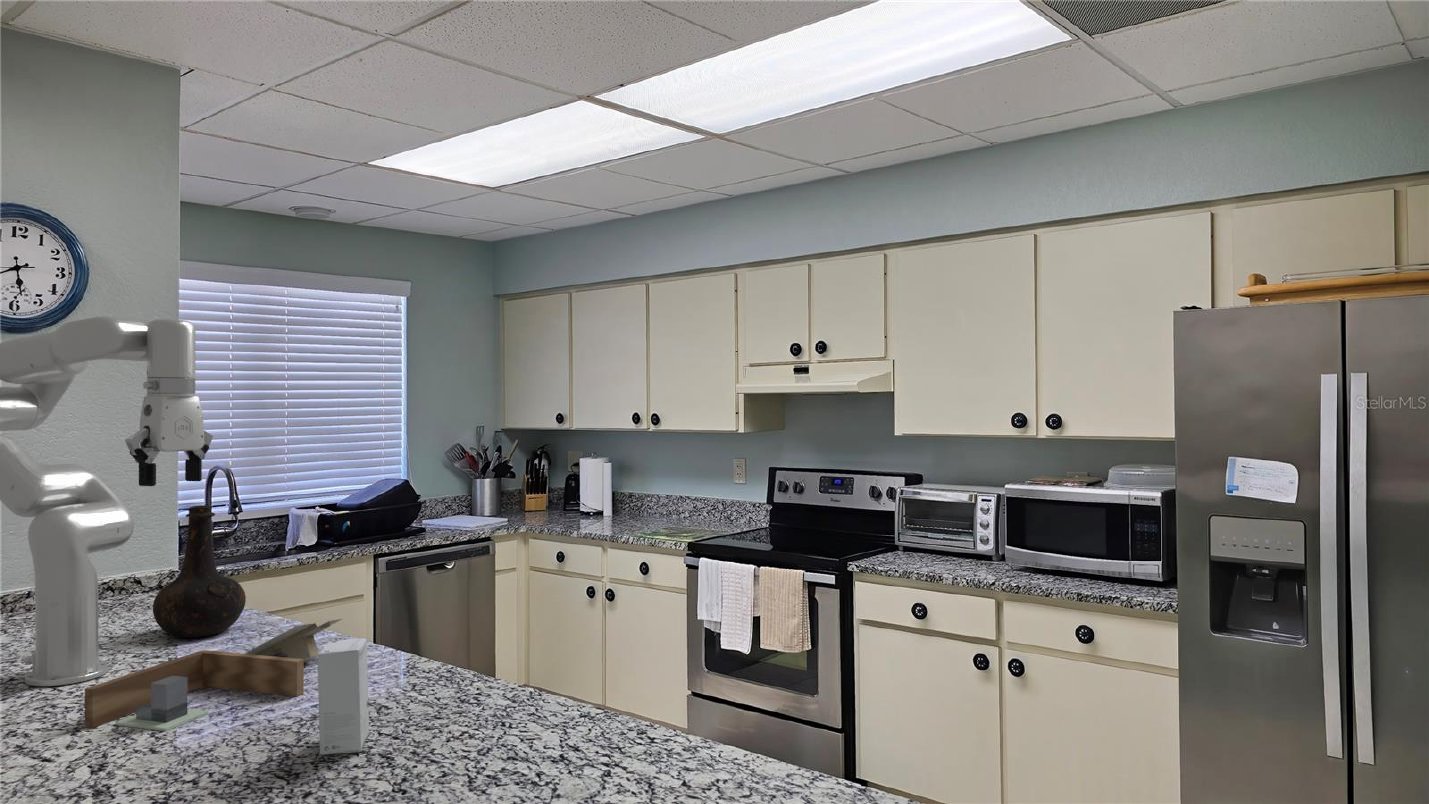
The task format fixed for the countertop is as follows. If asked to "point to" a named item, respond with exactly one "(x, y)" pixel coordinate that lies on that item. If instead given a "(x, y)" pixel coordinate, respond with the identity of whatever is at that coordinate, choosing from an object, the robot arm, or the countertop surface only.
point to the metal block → (165, 700)
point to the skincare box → (343, 696)
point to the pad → (161, 725)
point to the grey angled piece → (294, 642)
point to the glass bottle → (199, 587)
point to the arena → (195, 681)
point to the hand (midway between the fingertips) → (171, 483)
